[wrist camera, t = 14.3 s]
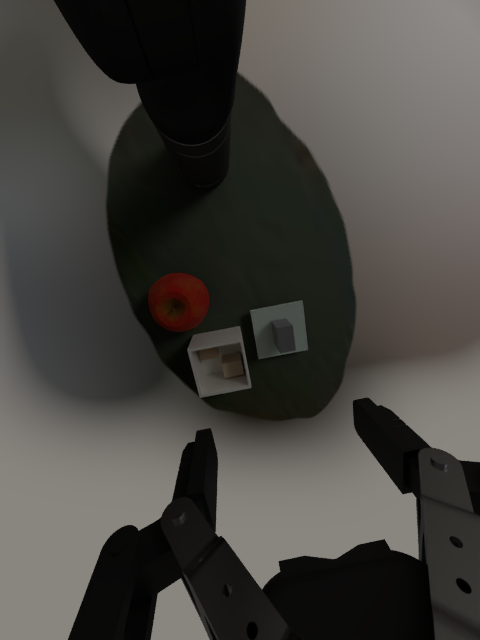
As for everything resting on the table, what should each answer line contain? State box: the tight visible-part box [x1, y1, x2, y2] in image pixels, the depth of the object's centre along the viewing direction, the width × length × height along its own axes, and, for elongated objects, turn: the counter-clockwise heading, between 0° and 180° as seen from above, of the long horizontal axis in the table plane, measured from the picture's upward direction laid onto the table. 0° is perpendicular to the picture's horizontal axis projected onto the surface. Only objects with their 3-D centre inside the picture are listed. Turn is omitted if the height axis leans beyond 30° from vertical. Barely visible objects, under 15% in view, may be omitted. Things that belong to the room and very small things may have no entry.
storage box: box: [187, 326, 252, 398], centre depth 46 cm, size 10×10×8 cm
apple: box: [148, 273, 209, 332], centre depth 41 cm, size 11×11×11 cm
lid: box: [250, 301, 308, 359], centre depth 46 cm, size 11×11×7 cm
